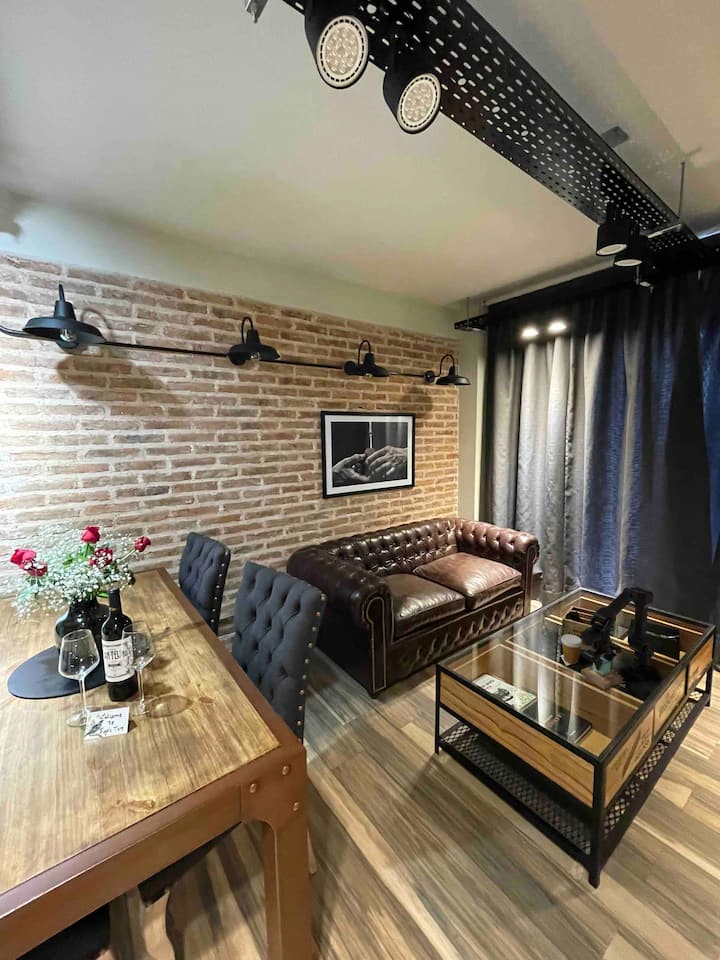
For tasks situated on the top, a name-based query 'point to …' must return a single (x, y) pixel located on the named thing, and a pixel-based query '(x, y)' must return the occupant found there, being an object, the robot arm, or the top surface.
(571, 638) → the disposable coffee cup
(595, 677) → the walnut base
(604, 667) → the teal cube
